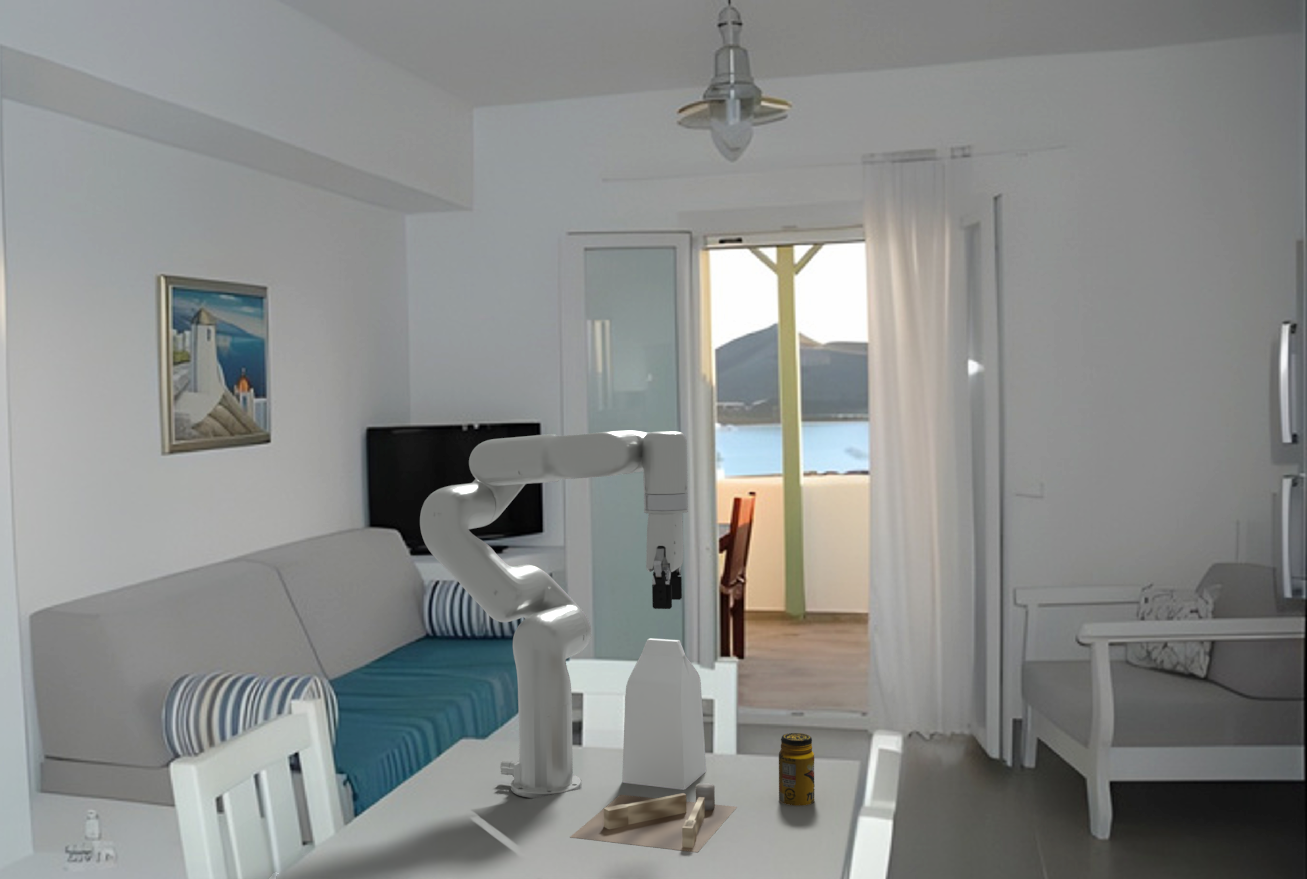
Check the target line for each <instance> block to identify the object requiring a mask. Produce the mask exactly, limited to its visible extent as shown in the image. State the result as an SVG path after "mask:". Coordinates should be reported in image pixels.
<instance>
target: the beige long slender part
mask: <svg viewBox="0 0 1307 879" xmlns="http://www.w3.org/2000/svg"><path fill="white" fill-rule="evenodd" d="M715 788H716V786H715V785H714V784H712V783H706V782H704V783H703V782H702V783H698V784H696V785H695V802H696V804H695V806H694V808H693V810H692V812H691V814H690V817H689V819H688V820H686V821H685V823H684V825H683V827H682V847H688V848H693V846H694V844H695V841H696V835H697V832H698V830H699V828H700V825H701V823H702V821H703V818H704V816H705V811H708V810H713V809H714V808H715V805H716V804H715V800H716V799H715V792H716V790H715Z"/></svg>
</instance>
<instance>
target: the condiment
mask: <svg viewBox="0 0 1307 879" xmlns="http://www.w3.org/2000/svg"><path fill="white" fill-rule="evenodd" d="M812 742H813V738H812V736H810V735H808V734H806V733H801V732H788V733H785V734H782V736H781V738H780V750H779V753H778V802H780V803H781V804H784V805H787V806H794V807H795V806H796V807H797V806H799V807H800V806H802V807H803V806H809V805H812V804H813V803H814V802H815V753H814V752H813V744H812Z"/></svg>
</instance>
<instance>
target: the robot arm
mask: <svg viewBox="0 0 1307 879" xmlns="http://www.w3.org/2000/svg"><path fill="white" fill-rule="evenodd" d="M468 459H469V460H468V466H469V470H470V473H471V474H472V477H474V480H473V481H472V482H469V483H461V484H451V485H448V486H444V487H440V488H438V489H436V490H435V491H433V492H432V493H430V494H429V495H428V497H426V499H425V500H424V502H423V504H422V507H421V510H420V516H419V527H420V533H421V536H422V539H423V542H424V544H425V546H426V548H427V549H428V551H429V552H430V553H431V555H432V556H433V557H434V558H435V560H436V561H437V562H438V563H439V564H441V565H442V566H443V568H445V569H446V571H447V572H448V573H450V574H451V576H452V577H454V579H455V580H456V581H457V582H458V583H459V584H460V586H461V587H462V588H463V589H464V590H465V591H466V592H467V593H468V594H469V596H470V597H471V598H472V599H473V600H474V601H475V602H476V603H477V604H478V605H479V606H480V607H481V609H482V610H484V611H483V612H485V613H486V614H487V615H488V616H489V617H490V618H491V619H493V620H494V621H496V622H499V623H509V622H513V621H516V620H517V621H518V620H519V619H522V618H524V619H523V620H522V621H521V622H520V623H519V625H518V626H517V628H516V629H515V631H514V633H513V638H512V653H513V659H514V663H515V669H516V676H517V700H518V701H517V704H518V760H517V762H516V761H515V762H514V761H512V760H501V762H500V774H501V775H507V776H508V775H509V776H512V777H513V780H512V781H511V783H510V790H511V792H512V793H514V794H515V795H517V796H520V797H522V798H528V799H536V798H541V797H546V796H553V795H557V794H563V793H569V792H573V791H578V790H581V789H582V780H581V778H580V777H579V776H577V775H575V774H573V773H574V772H573V768H574V767H573V766H574V765H573V758H574V757H573V700H572V698H573V697H572V696H573V695H572V694H573V693H572V682H571V677H570V674H569V670H568V666H567V659H569V658H571V657H574V656H576V655H577V654H580V653H581V652H582V651H584V650H585V649H586V647H587V646H588V645H589V643H590V641H591V638H592V637H591V636H592V628H591V623H590V621H589V618H588V617H587V615H586V613H585V612H584V611H583V608H581V607H580V606H579V605H578V603H576V601H575V600H573V598H572V597H571V596H570V595H569V594H568V593H567V592H566V591H565V590H564V589H563V588H562V587H561V585H559V584H558V582H556V581H555V579H554V578H553V577H552V576H550V575H549V574H548V572H546V571H544V570H543V569H541V568H540V567H537V566H536V565H532V564H519V565H515V566H512V565H509V564H508V563H507V562H505V561H504V560H503V559H502V557H500V556H499V555H498V554H497V553H496V552H495V550H494V549H493V548H492V547H491V546H490V545H488V543H487V542H485V541H483V540H482V539H481V538H479V537H477V536H476V535H475V534H473V533H472V532H471V531H470V530H473V529H477V528H483V527H486V526H488V525H490V524H492V523H493V522H495V521H496V520H497V519H498V518H499V517H500V516H501V515H502V513H503V512H504V511H505V510H506V508H508V506H509V505H510V504H511V503H512V501H513V500H514V499H515V498H516V497H517V496H518V494H519V493H520V492H521V491H522V489H523V488H524V487H525V486H526V485H527V484H542V483H555V482H556V483H557V482H559V481H561V480H574V479H588V478H603V477H604V478H605V477H607V478H608V477H614V476H620V475H621V476H622V475H628V474H630V475H631V474H634V473H641V472H642V475H643V513H644V514H647V515H648V516H647V526H646V553H645V554H646V557H645V558H646V561H645V563H646V564H645V568H646V570H647V572H648V573H652V579H651V580H652V582H651V583H652V585H651V588H652V589H651V590H652V591H651V594H652V599H651V600H652V602H651V603H652V608H653V609H654V610H670V609H672V607H673V601H674V600H676V601H677V600H678V601H679V600H680V601H681V599H683V593H682V592H683V584H682V582H683V581H682V580H683V578H682V576H681V575H682V569H681V567H682V565H683V561H684V527H683V514H685V513H688V512H689V499H688V498H689V496H688V495H689V492H688V491H689V489H688V482H689V481H688V443H687V437H686V435H685V434H684V433H683V432H681V431H669V430H668V431H652V432H651V431H650V432H645V431H639V430H632V429H631V430H630V429H629V430H612V431H610V430H609V431H602V432H601V431H600V432H592V433H590V432H589V433H580V434H568V435H557V434H555V433H550V434H548V433H547V434H545V433H544V434H536V435H527V436H515V437H504V438H503V437H501V438H493V439H487V440H485V441H482V442H481V443H478V444H477V445H476V446H475V447H474V448H473V449H472V451H471V453H470V456H469V458H468Z"/></svg>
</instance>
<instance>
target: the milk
mask: <svg viewBox="0 0 1307 879" xmlns="http://www.w3.org/2000/svg"><path fill="white" fill-rule="evenodd" d="M702 696H703V694H702V682H701V677H700V674H699V671H697V669H696V668H695V666H694V664H692V662H691V661H690V660H689V658H688V656H686V653H685V650H684V647H683V646H682V642H681V640H680V639H667V638H665V639H664V638H648V639H646V641H645V644H644V646H643V649H642V651H641V654H640V656H639V658H638V660H637V661H636V663H635V666H634V668H633V669H632V671H631V673H630V675H629V678H628V680H627V682H626V687H625V696H624V697H625V701H624V702H625V703H624V722H623V723H624V725H623V727H624V728H623V752H622V753H623V754H622V773H621V774H622V775H621V777H622V778H621V779H622V780H621V783H624V784H630V785H638V786H639V785H640V786H650V787H657V788H664V789H665V788H666V789H674V790H684V791H685V790H686V789H687V788H689V787H690V785H691V786H692V784H693V783H694V782H696V781H697V780H698V779H699V778H701V777H702V776H703V775H704V774H705V773H706V772H707V758H706V746H705V744H706V743H705V742H706V741H705V730H704V729H705V728H704V726H705V725H704V715H703V712H704V711H703V697H702Z"/></svg>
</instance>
